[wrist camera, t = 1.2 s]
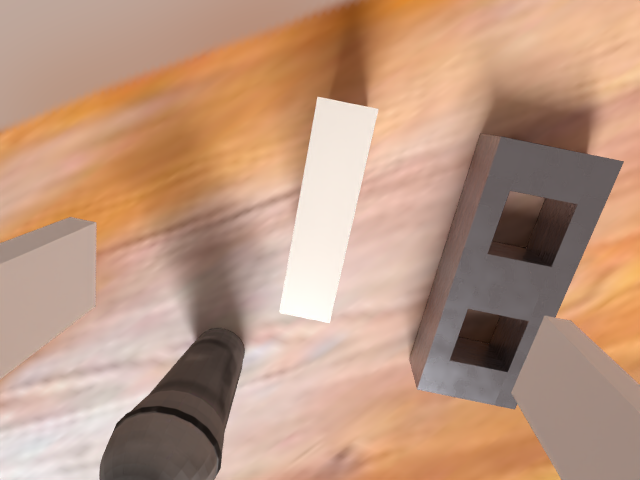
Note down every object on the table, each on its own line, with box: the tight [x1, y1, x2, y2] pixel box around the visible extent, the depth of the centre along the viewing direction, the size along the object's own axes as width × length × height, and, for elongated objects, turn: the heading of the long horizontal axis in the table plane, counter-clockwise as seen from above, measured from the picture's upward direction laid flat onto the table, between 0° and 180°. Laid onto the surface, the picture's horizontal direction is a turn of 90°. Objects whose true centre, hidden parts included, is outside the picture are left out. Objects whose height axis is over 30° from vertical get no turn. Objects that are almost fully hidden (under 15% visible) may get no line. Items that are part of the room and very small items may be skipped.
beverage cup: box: [99, 328, 245, 480], centre depth 26 cm, size 7×7×20 cm
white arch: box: [279, 97, 378, 323], centre depth 26 cm, size 12×3×10 cm, turn 169°
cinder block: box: [409, 134, 624, 409], centre depth 30 cm, size 8×20×4 cm, turn 169°
